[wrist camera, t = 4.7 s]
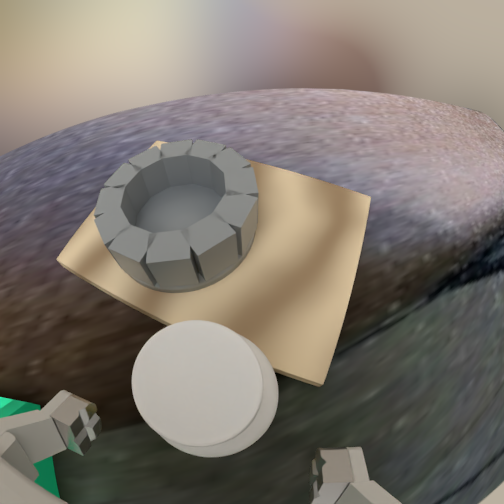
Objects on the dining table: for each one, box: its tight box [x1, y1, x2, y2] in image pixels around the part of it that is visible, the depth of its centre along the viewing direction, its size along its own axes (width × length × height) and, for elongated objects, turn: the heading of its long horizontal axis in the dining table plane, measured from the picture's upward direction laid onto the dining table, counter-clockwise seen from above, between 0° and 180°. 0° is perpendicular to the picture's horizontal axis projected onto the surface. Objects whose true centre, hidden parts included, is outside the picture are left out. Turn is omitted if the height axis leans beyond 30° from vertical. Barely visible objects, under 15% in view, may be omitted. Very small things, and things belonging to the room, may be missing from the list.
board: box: [56, 141, 371, 387], centre depth 22 cm, size 22×16×1 cm
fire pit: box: [94, 139, 259, 293], centre depth 20 cm, size 11×11×4 cm
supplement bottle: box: [132, 320, 278, 457], centre depth 12 cm, size 5×5×10 cm
